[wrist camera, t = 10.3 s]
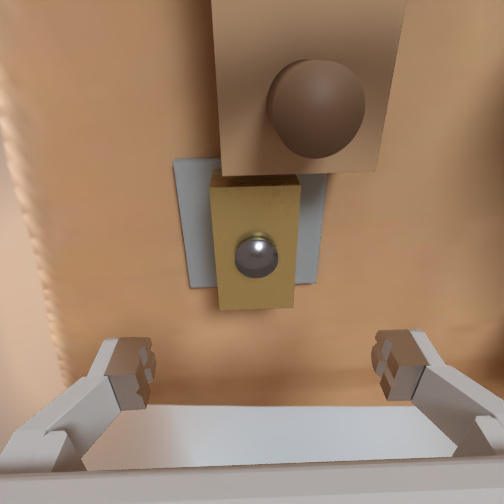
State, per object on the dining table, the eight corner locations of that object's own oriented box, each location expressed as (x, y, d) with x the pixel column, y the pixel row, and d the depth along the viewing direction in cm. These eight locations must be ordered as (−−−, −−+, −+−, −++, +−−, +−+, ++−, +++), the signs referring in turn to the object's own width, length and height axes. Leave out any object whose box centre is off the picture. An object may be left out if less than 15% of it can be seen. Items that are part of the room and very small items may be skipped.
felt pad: (174, 158, 19) (172, 161, 19) (326, 154, 20) (329, 157, 19) (191, 282, 24) (190, 287, 23) (314, 278, 24) (315, 282, 24)
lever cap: (212, 168, 19) (208, 192, 16) (291, 166, 19) (303, 189, 16) (221, 280, 23) (219, 317, 20) (286, 277, 23) (294, 314, 20)
